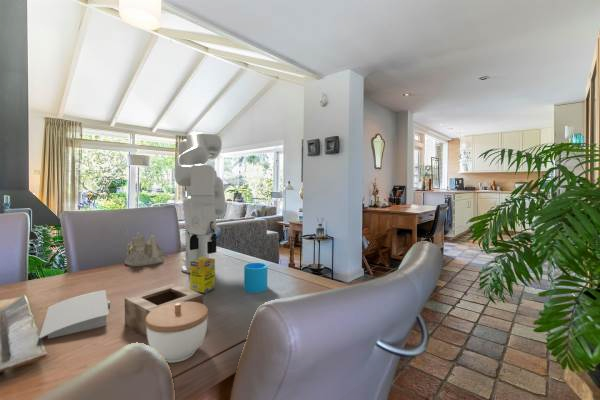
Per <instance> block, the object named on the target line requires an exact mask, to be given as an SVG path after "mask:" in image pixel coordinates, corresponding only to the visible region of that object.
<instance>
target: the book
mask: <svg viewBox="0 0 600 400" xmlns="http://www.w3.org/2000/svg"><path fill="white" fill-rule="evenodd" d="M110 300H111V299H108V298H107V292H106V289H103V290H98V291H97V290H96V291H94V292H93V291H92V292H88V293H83V294H81V295H77V296H73V297H70V298H67V299H65V300H62V301H61V300H60V301H59V302H57V303H54V304H52V305H50V306H48V308H47V310H46V314H45V317H44V321H43V324H42V327H41V330H40V333H39V337H40V339H43V338H45V337H46V336H47V339H52V338H56V337H58V338H59V337H61V336H67V335H71V334H74V333H80V332H83V331H88V330H93V329H98V328H101V327H102V328H103V327H105V326H107V316H109V315H110V312H109V308H111V301H110ZM39 337H38V338H39Z"/></svg>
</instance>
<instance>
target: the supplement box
mask: <svg viewBox="0 0 600 400" xmlns="http://www.w3.org/2000/svg"><path fill="white" fill-rule="evenodd" d="M215 261H216V259H215V258H211V257H209V258H204V257H201V258H199V259H196V260H193V261H190V273H189V274H190V278H189V280H190V281H189V282H190V285H189V287H190V288H189V289H190V290H193V291H195V292H198V293H200V294H203V296H204V295H206V294H208V293H210V292H212V291H214V290H215V288H216V286H215V285H216V284H215V283H216V282H215V281H216V277H215V276H216V275H215V274H216V272H215V271H216V267H215V266H216V265H215V263H216V262H215Z"/></svg>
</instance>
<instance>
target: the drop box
mask: <svg viewBox="0 0 600 400" xmlns="http://www.w3.org/2000/svg"><path fill="white" fill-rule="evenodd" d="M187 301H188V302H198V303H201V304H204V295H203V294H200V293H198V292H195V291H193V290H190V288H187V287H185V286H181V285H179V284H178V283H177V284H176V283H171V284H167V285H164V286H161V287H158V288H154V289H151V290H148V291H145V292H141V293H137V294H132V295H131V296H127V297H124V325H126V326H128V327H129V328H131V329H133V330H134V331H136V333H139V334H141V335H142V336H143V337H145V338H147V332H146V323H145V319H146V316H147V315H148V314H149V313H150V312H151V311H152V310H154V309H156V308H158V307H161V306H163V305H167V304H170V303H176V302H187Z"/></svg>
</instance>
